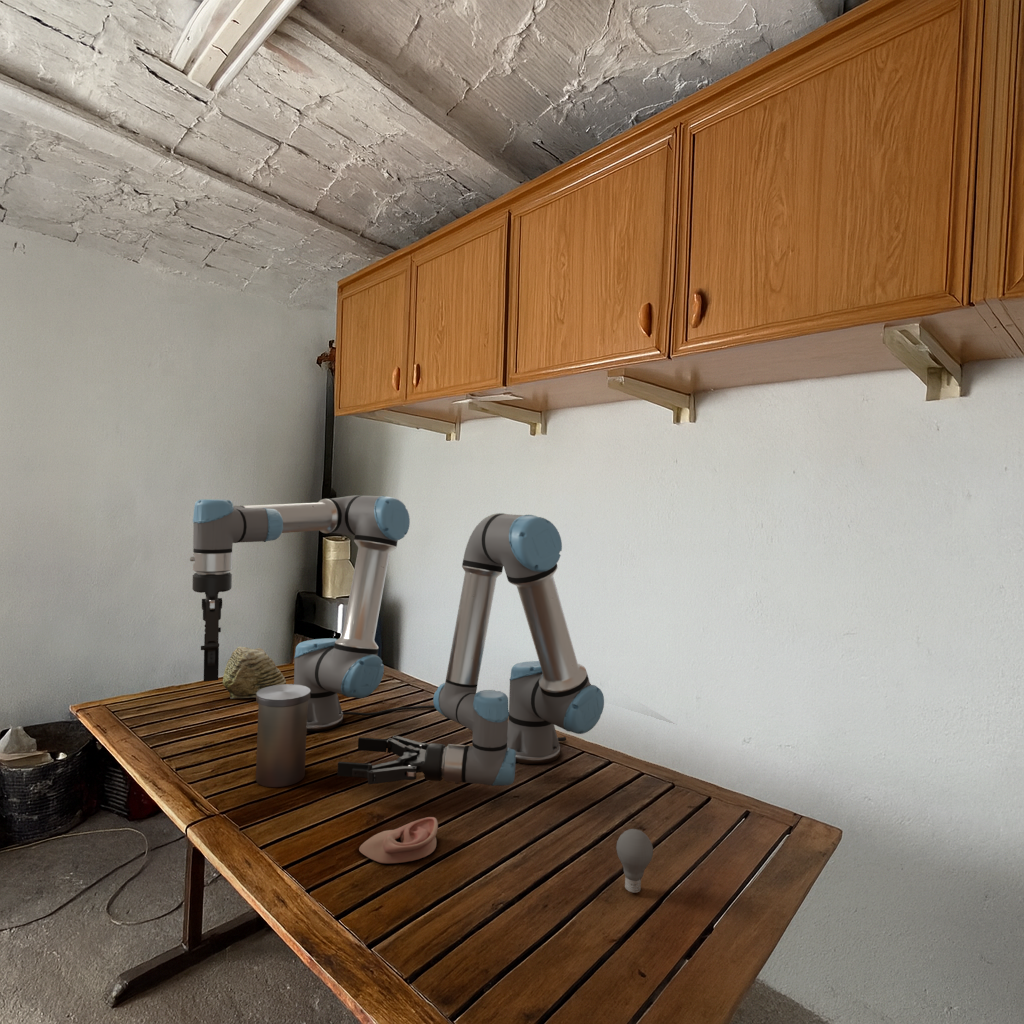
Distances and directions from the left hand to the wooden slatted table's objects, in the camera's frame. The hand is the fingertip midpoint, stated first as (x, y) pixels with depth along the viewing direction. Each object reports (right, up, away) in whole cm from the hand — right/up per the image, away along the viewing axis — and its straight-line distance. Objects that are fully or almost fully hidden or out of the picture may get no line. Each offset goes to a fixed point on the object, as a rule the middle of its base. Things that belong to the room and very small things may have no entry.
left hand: (210, 671), depth 135 cm
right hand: (+28, -20, +4) cm, 35 cm away
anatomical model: (+44, -27, -19) cm, 55 cm away
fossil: (-16, -23, +63) cm, 69 cm away
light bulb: (+84, -29, -29) cm, 94 cm away
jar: (+12, -26, +7) cm, 29 cm away
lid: (+13, -7, +7) cm, 16 cm away
